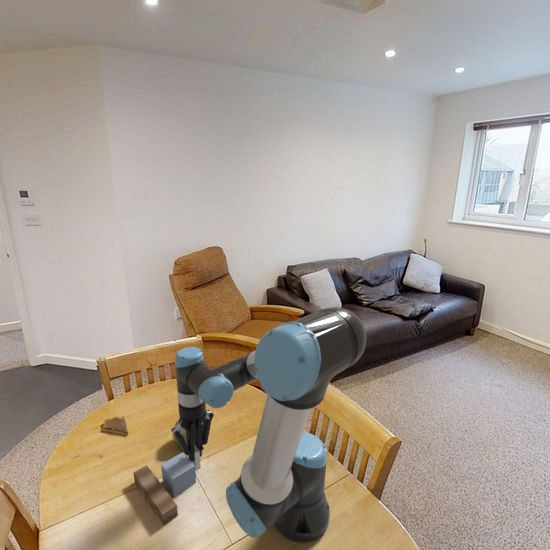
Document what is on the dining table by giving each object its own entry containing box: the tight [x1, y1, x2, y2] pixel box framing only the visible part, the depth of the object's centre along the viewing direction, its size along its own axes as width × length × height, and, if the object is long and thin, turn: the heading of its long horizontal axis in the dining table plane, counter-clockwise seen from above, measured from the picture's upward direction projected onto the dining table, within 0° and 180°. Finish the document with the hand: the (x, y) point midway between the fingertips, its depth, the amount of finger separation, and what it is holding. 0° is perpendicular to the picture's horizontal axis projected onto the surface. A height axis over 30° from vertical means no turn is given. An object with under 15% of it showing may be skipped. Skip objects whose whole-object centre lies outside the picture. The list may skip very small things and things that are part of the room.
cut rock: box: [172, 417, 195, 446], centre depth 118 cm, size 10×10×10 cm
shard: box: [101, 415, 129, 436], centre depth 124 cm, size 11×8×2 cm
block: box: [160, 451, 197, 497], centre depth 103 cm, size 7×7×6 cm
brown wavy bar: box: [133, 464, 179, 526], centre depth 98 cm, size 18×4×4 cm, turn 44°
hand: (196, 466), depth 107 cm, fingers closed
